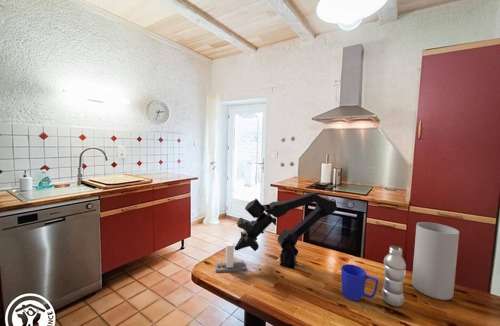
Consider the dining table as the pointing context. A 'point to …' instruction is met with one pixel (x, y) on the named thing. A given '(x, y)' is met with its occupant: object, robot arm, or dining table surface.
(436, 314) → the dining table surface
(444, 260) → the cylinder vase
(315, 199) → the robot arm
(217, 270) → the board
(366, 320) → the dining table surface
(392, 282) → the plastic bottle
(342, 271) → the mug
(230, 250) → the white cardboard box
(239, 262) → the light grey bar
